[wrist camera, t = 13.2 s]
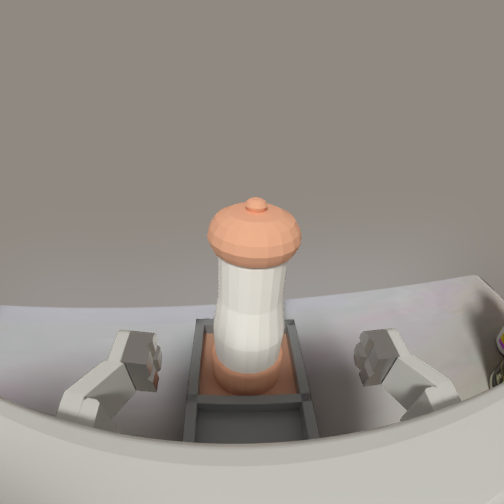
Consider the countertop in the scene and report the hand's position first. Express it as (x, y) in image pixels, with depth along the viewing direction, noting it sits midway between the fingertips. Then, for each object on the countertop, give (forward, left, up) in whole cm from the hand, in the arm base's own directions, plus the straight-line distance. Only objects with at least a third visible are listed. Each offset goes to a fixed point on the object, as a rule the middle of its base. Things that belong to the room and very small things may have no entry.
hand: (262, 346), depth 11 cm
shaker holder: (+1, +7, -19) cm, 20 cm away
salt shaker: (0, +12, -18) cm, 22 cm away
